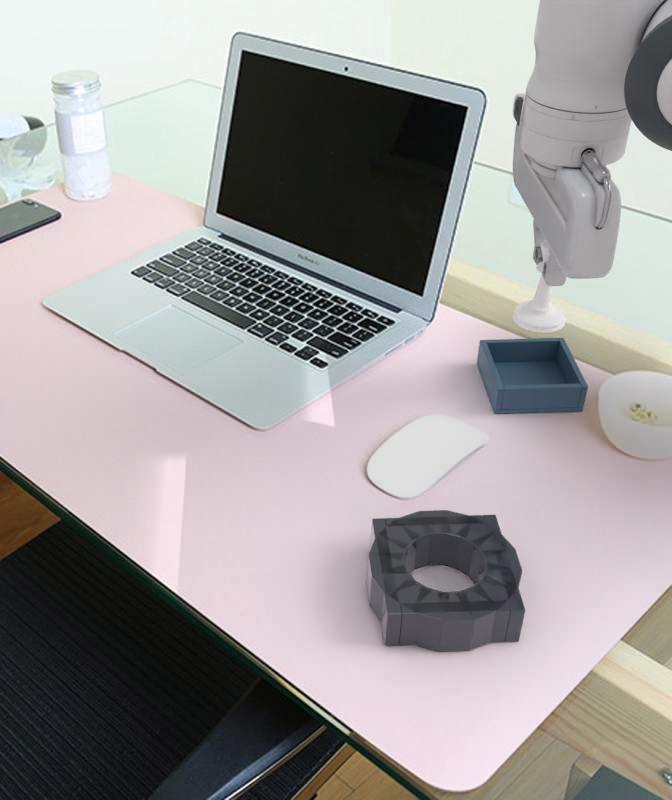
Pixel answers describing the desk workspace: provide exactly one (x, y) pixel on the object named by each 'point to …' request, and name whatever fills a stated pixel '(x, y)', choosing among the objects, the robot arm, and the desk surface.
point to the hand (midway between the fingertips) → (547, 273)
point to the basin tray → (531, 376)
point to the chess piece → (540, 305)
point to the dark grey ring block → (435, 610)
